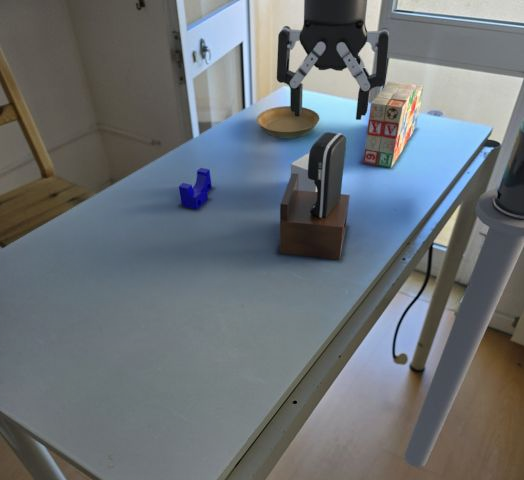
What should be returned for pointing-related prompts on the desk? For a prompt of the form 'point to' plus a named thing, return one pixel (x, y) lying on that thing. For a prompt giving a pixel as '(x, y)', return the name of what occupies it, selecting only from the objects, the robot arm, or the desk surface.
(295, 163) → the white cube
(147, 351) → the desk surface
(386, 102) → the stack of blocks
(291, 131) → the plant saucer
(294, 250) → the brown boxy piece
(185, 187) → the cable holder
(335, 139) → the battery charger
